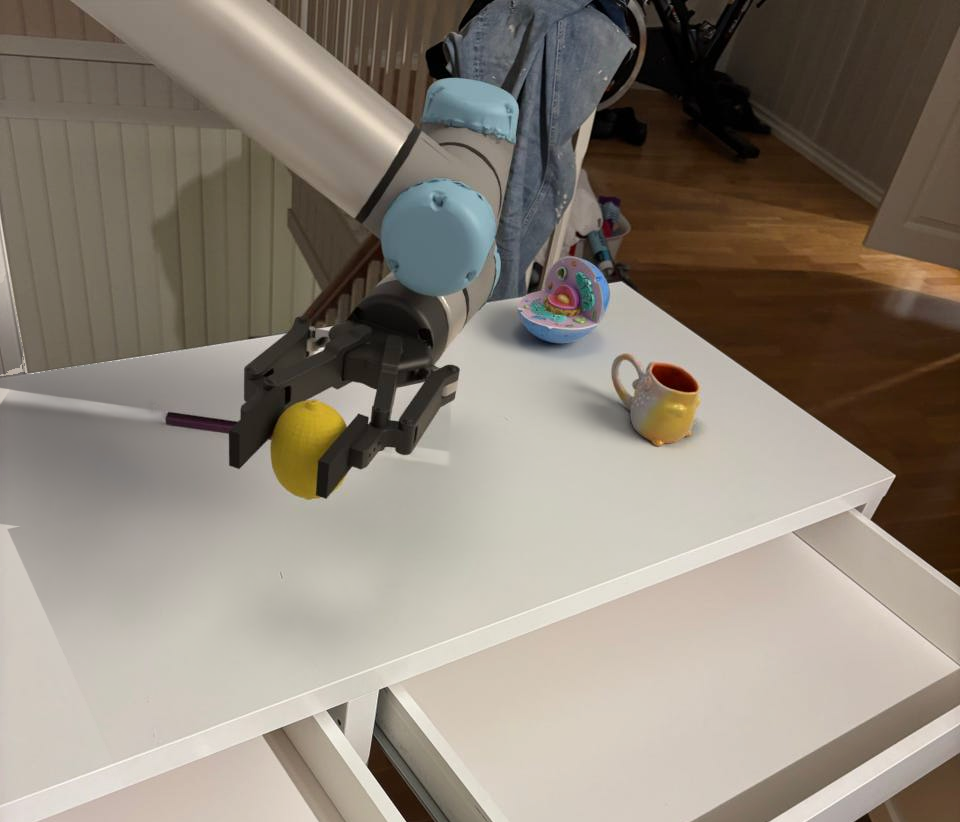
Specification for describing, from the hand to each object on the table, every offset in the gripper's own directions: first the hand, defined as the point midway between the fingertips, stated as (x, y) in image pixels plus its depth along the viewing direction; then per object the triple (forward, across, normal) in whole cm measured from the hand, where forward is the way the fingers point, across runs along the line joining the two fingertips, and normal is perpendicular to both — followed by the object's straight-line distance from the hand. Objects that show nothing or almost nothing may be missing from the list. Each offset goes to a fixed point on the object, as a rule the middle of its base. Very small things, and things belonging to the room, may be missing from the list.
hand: (278, 464), depth 63 cm
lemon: (-5, 0, -6) cm, 8 cm away
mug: (-52, -20, -17) cm, 58 cm away
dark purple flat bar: (-27, +16, -17) cm, 36 cm away
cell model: (-64, -6, -17) cm, 67 cm away
